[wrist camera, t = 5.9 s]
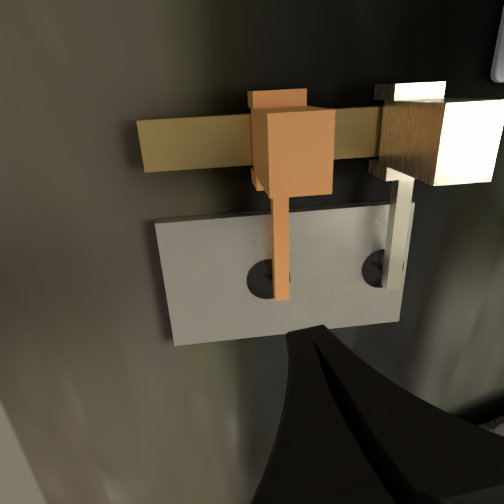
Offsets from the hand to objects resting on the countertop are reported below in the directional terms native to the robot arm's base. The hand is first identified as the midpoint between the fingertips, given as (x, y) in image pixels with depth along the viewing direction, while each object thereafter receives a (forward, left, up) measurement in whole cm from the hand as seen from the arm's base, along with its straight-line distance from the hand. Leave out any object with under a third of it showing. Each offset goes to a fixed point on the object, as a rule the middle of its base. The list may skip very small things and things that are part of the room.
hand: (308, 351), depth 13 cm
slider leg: (-1, -3, -10) cm, 10 cm away
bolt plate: (-1, +2, -10) cm, 10 cm away
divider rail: (-1, -3, -10) cm, 10 cm away
